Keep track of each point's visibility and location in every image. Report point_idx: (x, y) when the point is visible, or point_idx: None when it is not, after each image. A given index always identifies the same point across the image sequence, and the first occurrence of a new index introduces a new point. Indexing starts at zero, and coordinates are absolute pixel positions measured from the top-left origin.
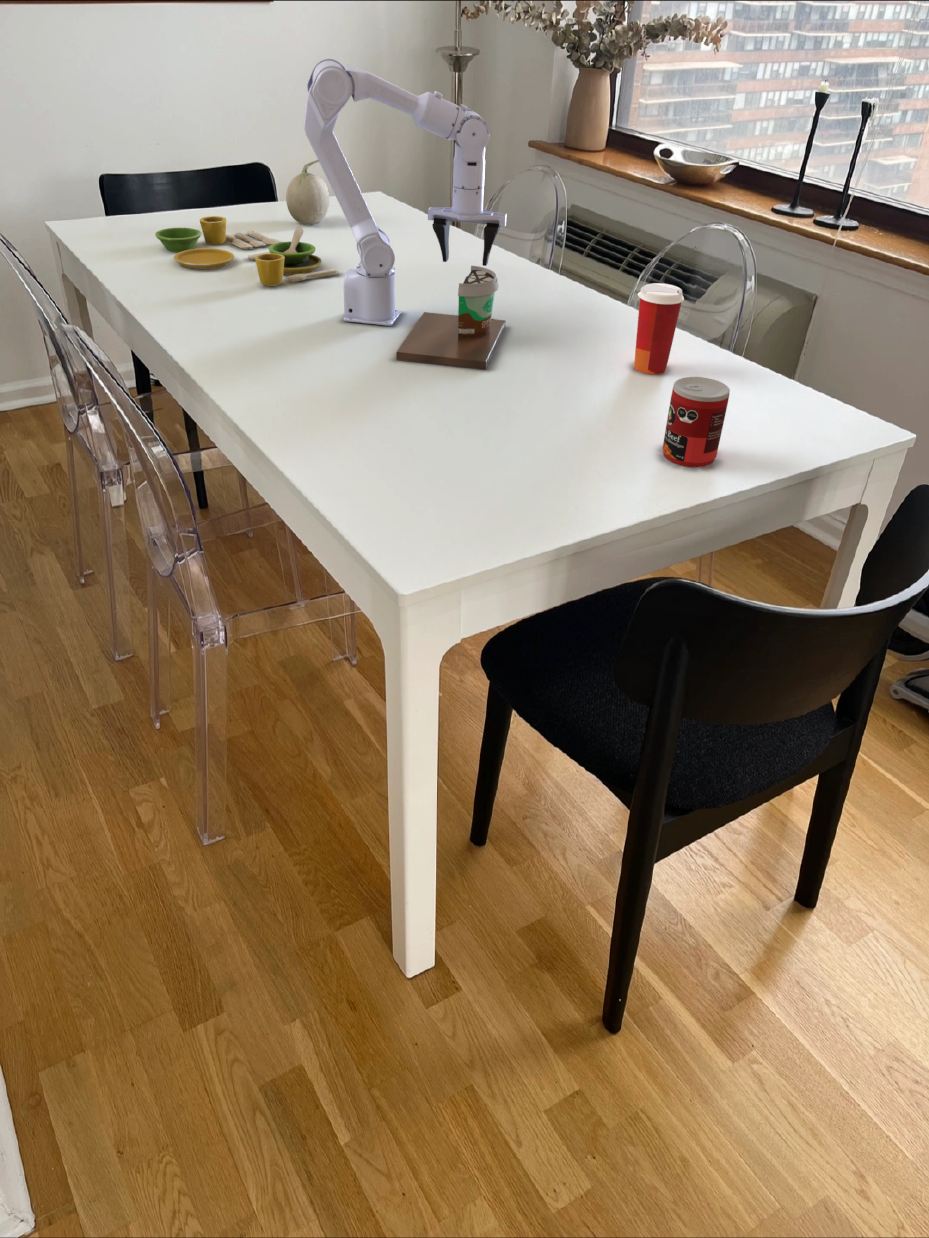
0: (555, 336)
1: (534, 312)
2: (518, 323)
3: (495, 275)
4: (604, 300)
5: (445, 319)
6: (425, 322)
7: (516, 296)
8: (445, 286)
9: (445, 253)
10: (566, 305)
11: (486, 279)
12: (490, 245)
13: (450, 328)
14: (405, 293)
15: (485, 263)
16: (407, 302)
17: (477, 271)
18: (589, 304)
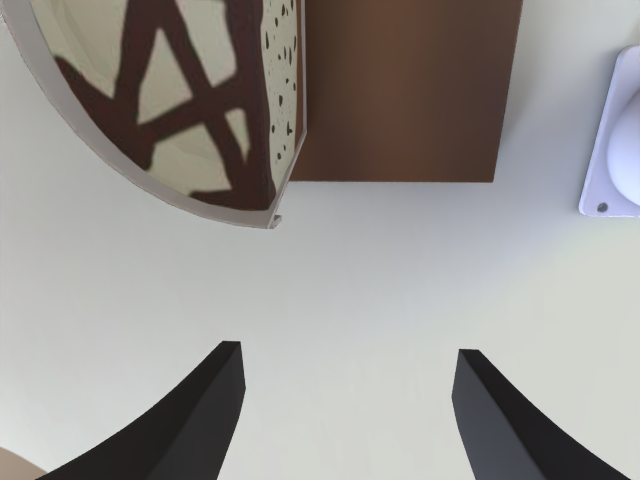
0: (7, 145)
1: (148, 335)
2: (161, 233)
3: (18, 38)
4: (19, 451)
5: (396, 119)
6: (477, 51)
7: (234, 434)
8: (442, 464)
9: (482, 378)
10: (89, 402)
11: (102, 24)
12: (132, 425)
13: (358, 6)
14: (562, 394)
15: (218, 347)
16: (553, 324)
17: (219, 187)
18: (39, 420)
